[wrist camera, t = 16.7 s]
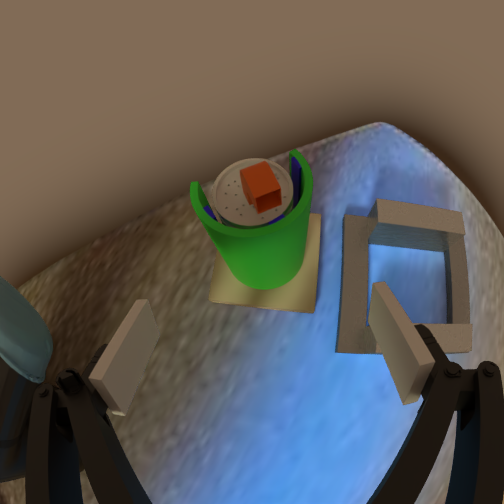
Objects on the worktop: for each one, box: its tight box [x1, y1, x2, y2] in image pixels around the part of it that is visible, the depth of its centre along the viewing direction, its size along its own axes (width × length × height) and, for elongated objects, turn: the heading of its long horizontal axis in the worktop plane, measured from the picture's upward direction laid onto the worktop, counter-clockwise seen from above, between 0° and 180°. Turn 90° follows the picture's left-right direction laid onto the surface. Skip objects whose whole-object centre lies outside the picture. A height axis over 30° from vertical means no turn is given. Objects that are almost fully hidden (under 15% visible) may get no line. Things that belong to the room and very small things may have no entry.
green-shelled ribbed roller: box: [190, 149, 313, 290], centre depth 25 cm, size 9×8×18 cm
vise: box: [335, 199, 472, 355], centre depth 28 cm, size 18×21×6 cm
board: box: [208, 213, 321, 313], centre depth 34 cm, size 12×12×2 cm
